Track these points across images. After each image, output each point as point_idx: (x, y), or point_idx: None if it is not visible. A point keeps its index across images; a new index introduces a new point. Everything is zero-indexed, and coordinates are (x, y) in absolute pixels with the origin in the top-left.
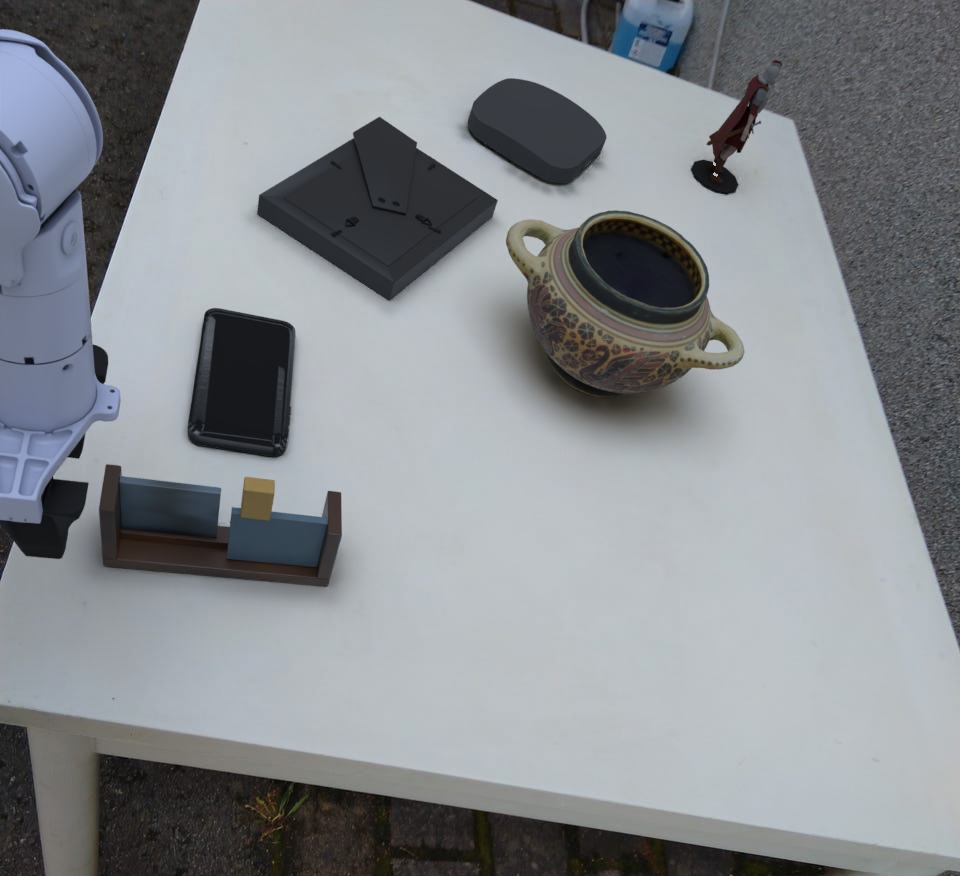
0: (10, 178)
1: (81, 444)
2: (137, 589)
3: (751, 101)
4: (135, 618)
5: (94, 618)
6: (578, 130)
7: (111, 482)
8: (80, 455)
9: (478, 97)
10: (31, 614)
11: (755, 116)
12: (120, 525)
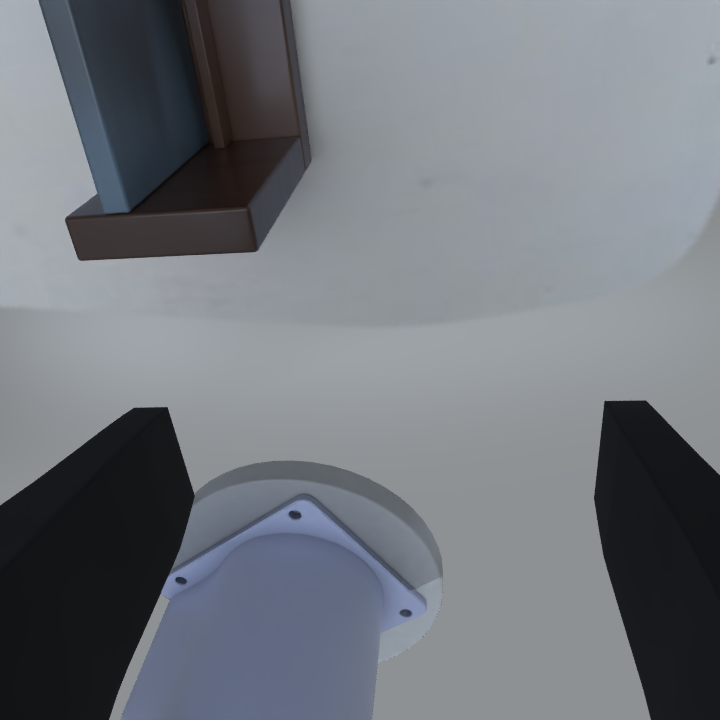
0: None
1: (131, 448)
2: (361, 63)
3: None
4: (454, 51)
5: (466, 153)
6: None
7: (139, 234)
8: (158, 413)
9: None
10: (470, 283)
11: None
12: (209, 153)
